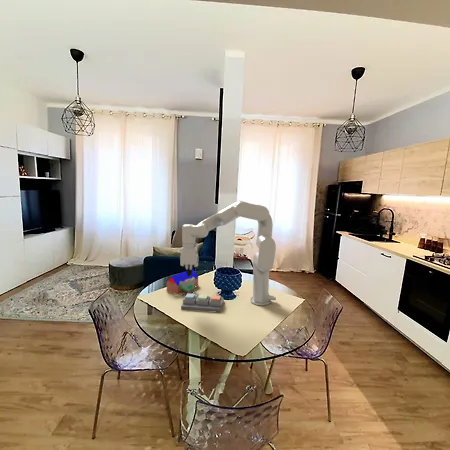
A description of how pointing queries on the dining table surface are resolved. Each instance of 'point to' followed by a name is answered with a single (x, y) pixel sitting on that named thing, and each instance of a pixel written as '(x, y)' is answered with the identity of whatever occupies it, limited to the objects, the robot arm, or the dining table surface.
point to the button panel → (202, 304)
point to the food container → (187, 286)
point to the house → (175, 280)
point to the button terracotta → (216, 298)
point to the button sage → (203, 297)
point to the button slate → (190, 296)
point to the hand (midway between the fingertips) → (189, 275)
